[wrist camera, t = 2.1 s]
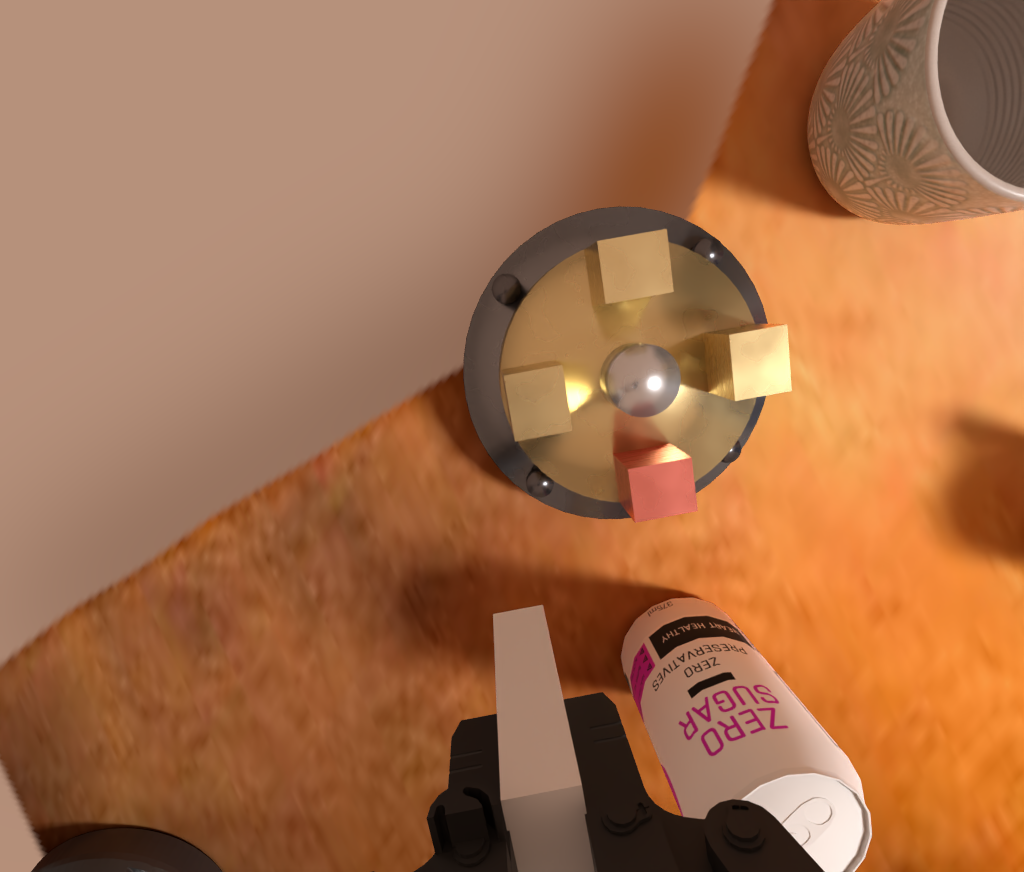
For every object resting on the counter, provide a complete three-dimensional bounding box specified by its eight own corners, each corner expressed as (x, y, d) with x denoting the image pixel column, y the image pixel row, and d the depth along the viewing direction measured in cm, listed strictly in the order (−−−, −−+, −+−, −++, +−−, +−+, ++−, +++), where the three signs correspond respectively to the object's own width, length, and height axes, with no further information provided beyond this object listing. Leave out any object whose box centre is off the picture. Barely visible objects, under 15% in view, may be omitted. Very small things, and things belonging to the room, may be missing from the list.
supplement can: (681, 718, 41) (796, 945, 26) (594, 657, 39) (664, 860, 24) (757, 635, 40) (922, 822, 25) (671, 569, 38) (792, 727, 23)
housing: (492, 529, 37) (496, 581, 29) (437, 243, 33) (426, 221, 26) (762, 478, 37) (832, 518, 30) (738, 190, 33) (812, 154, 26)
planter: (790, 255, 34) (930, 227, 24) (773, 29, 32) (923, -118, 21) (986, 219, 35) (1213, 175, 24) (986, -9, 32) (1241, -173, 21)
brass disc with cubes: (521, 508, 34) (529, 546, 28) (477, 268, 31) (477, 257, 25) (749, 466, 34) (802, 495, 28) (728, 224, 31) (783, 203, 26)
